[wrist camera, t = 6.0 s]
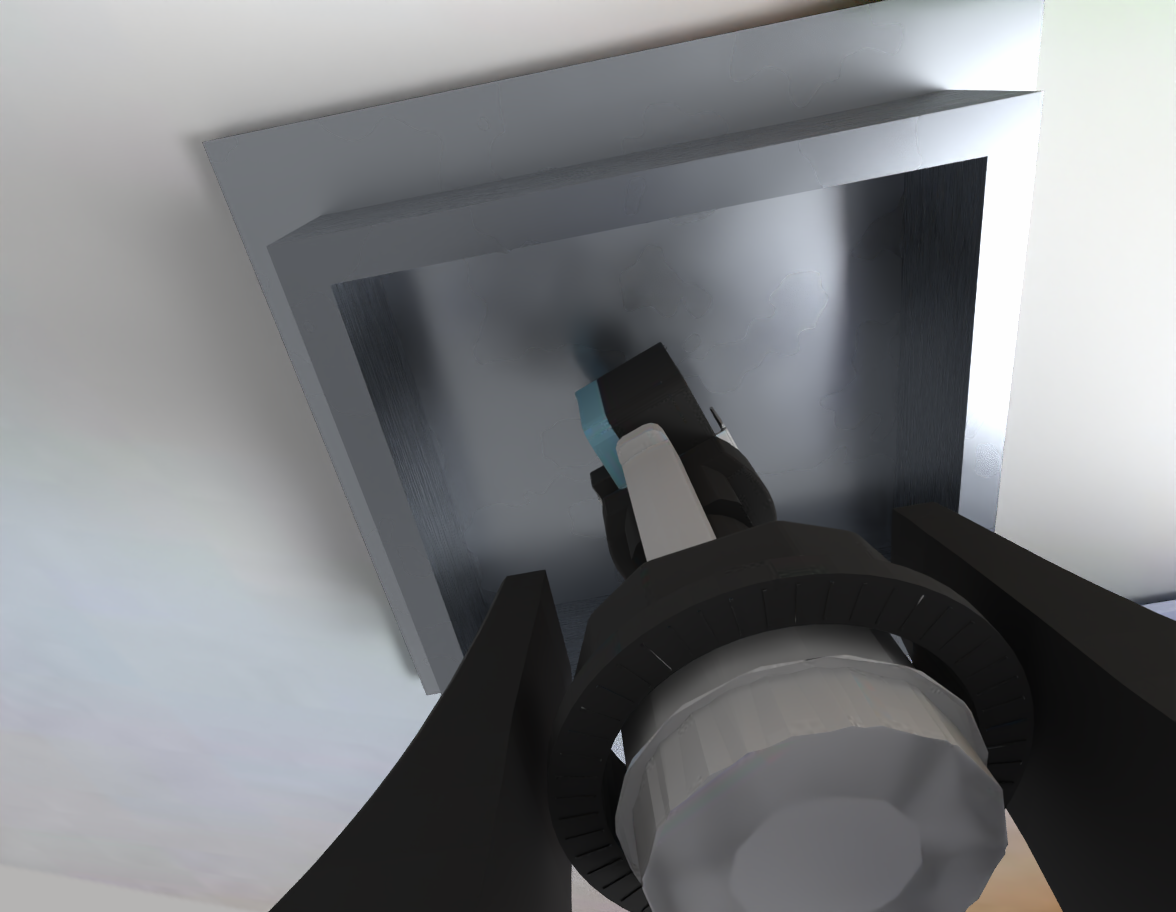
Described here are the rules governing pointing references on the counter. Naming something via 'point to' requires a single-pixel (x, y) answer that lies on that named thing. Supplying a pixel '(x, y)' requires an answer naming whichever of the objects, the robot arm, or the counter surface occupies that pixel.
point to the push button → (770, 694)
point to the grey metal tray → (655, 286)
